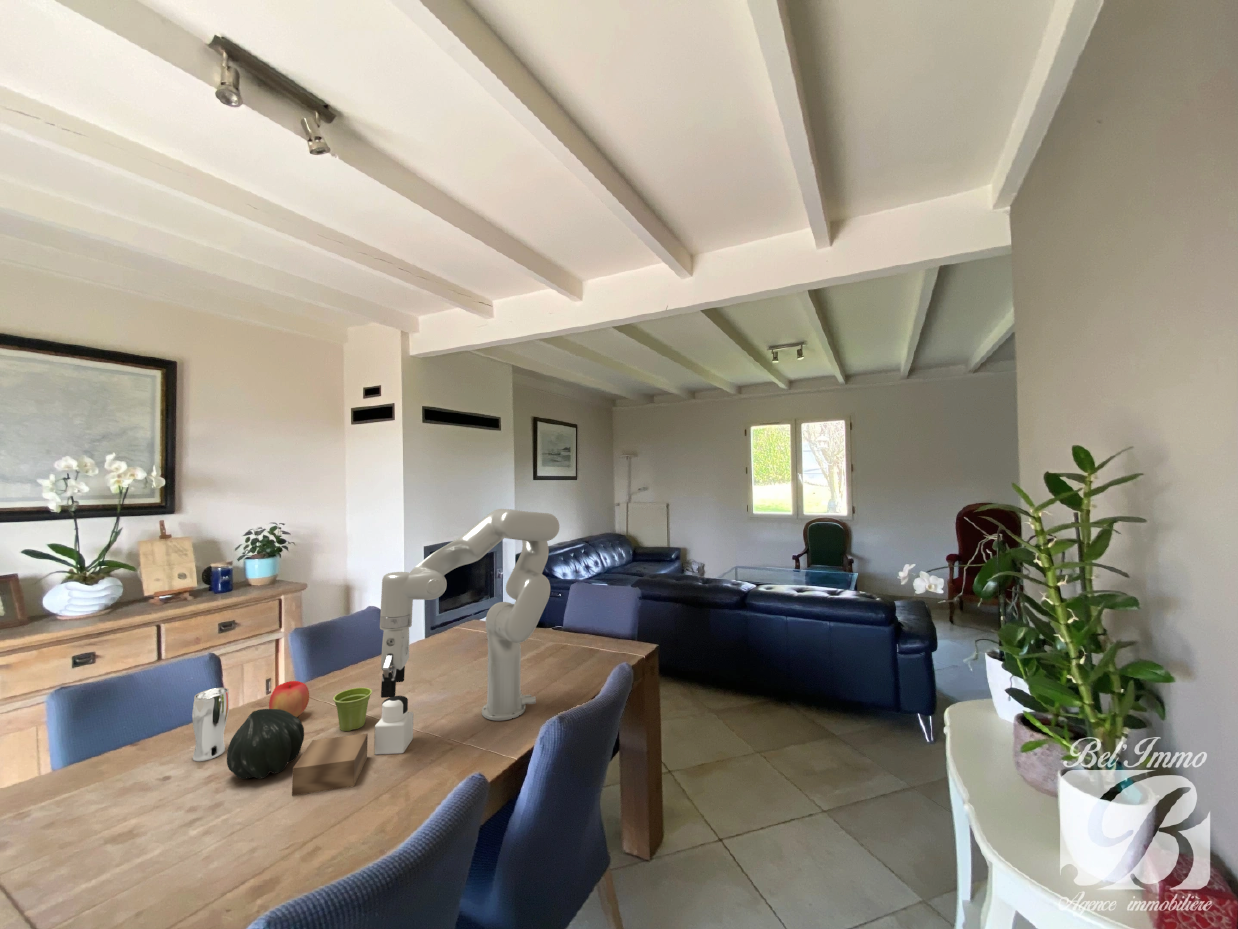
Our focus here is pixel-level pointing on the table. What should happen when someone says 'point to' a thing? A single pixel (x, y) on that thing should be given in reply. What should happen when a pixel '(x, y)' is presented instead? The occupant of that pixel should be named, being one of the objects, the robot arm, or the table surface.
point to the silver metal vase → (210, 722)
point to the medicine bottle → (394, 727)
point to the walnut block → (330, 764)
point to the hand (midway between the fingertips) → (393, 689)
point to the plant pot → (352, 707)
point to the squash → (265, 743)
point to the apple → (290, 697)
